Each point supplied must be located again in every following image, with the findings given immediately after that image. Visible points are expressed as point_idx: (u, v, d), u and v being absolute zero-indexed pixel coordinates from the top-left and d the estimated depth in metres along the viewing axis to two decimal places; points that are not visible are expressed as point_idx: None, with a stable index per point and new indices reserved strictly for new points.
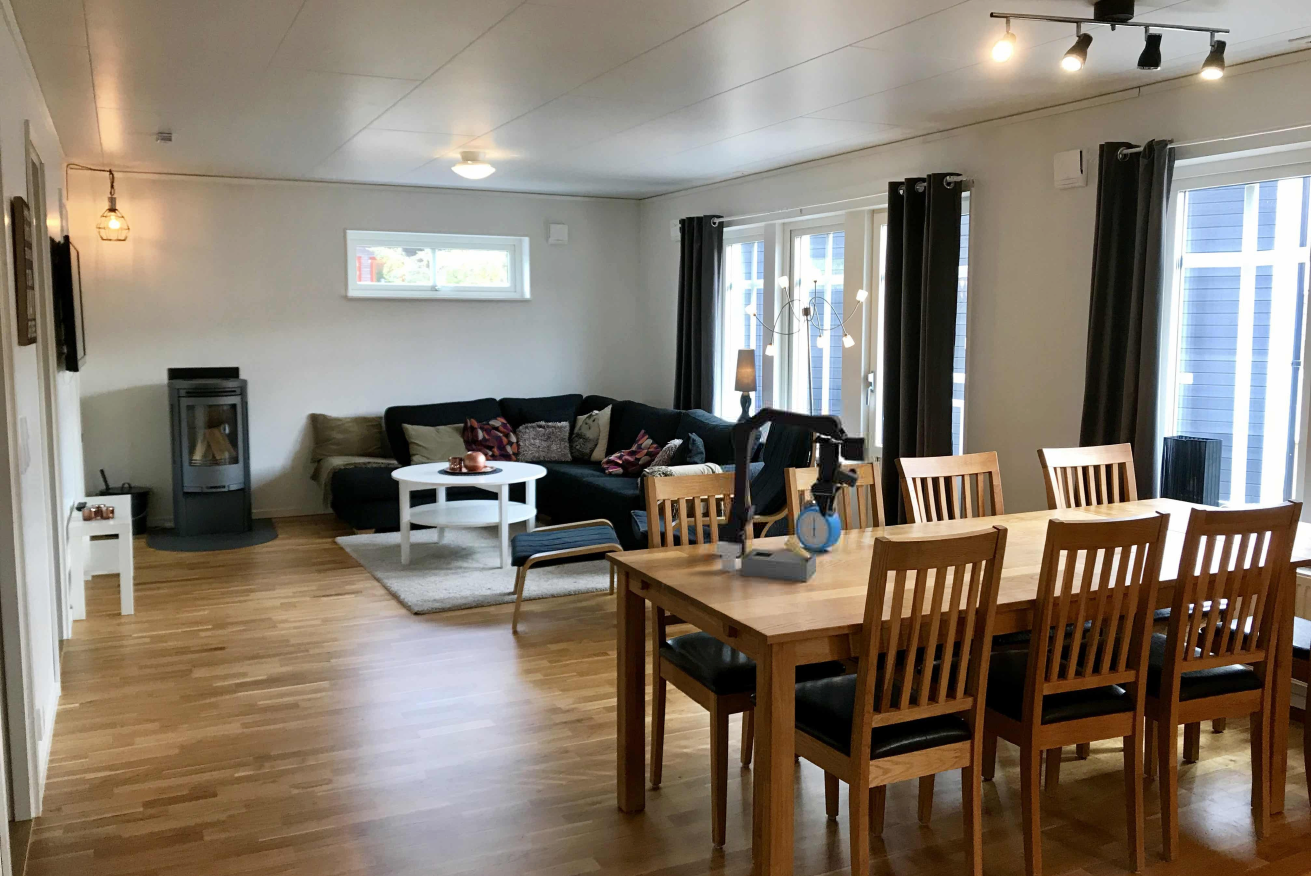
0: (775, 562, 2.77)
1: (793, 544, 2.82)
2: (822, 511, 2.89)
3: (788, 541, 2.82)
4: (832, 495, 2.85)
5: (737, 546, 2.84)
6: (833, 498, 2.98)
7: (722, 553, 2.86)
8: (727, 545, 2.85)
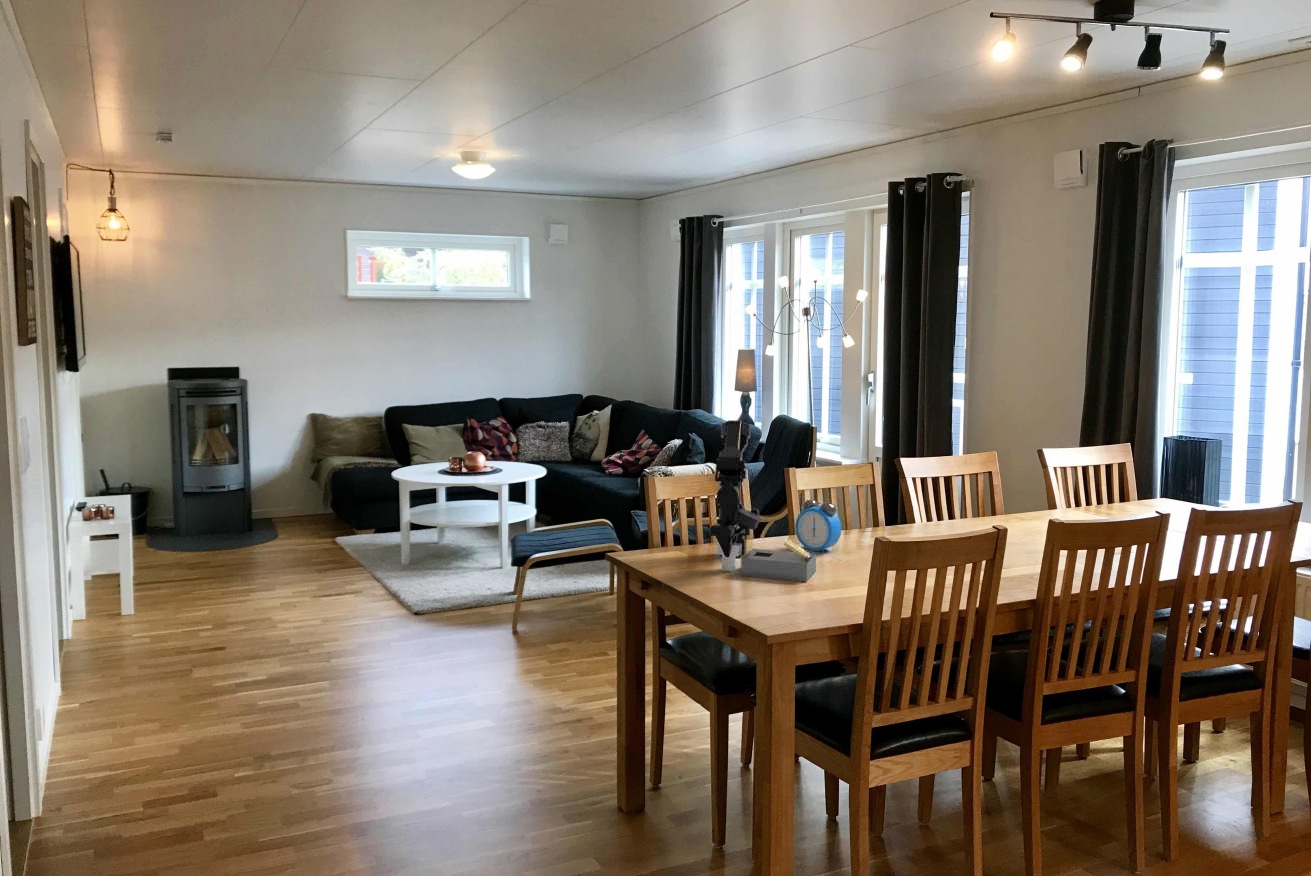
0: (775, 562, 2.77)
1: (793, 544, 2.82)
2: (725, 551, 2.85)
3: (788, 541, 2.82)
4: (734, 536, 2.81)
5: (737, 546, 2.84)
6: (733, 541, 2.88)
7: (722, 553, 2.86)
8: None
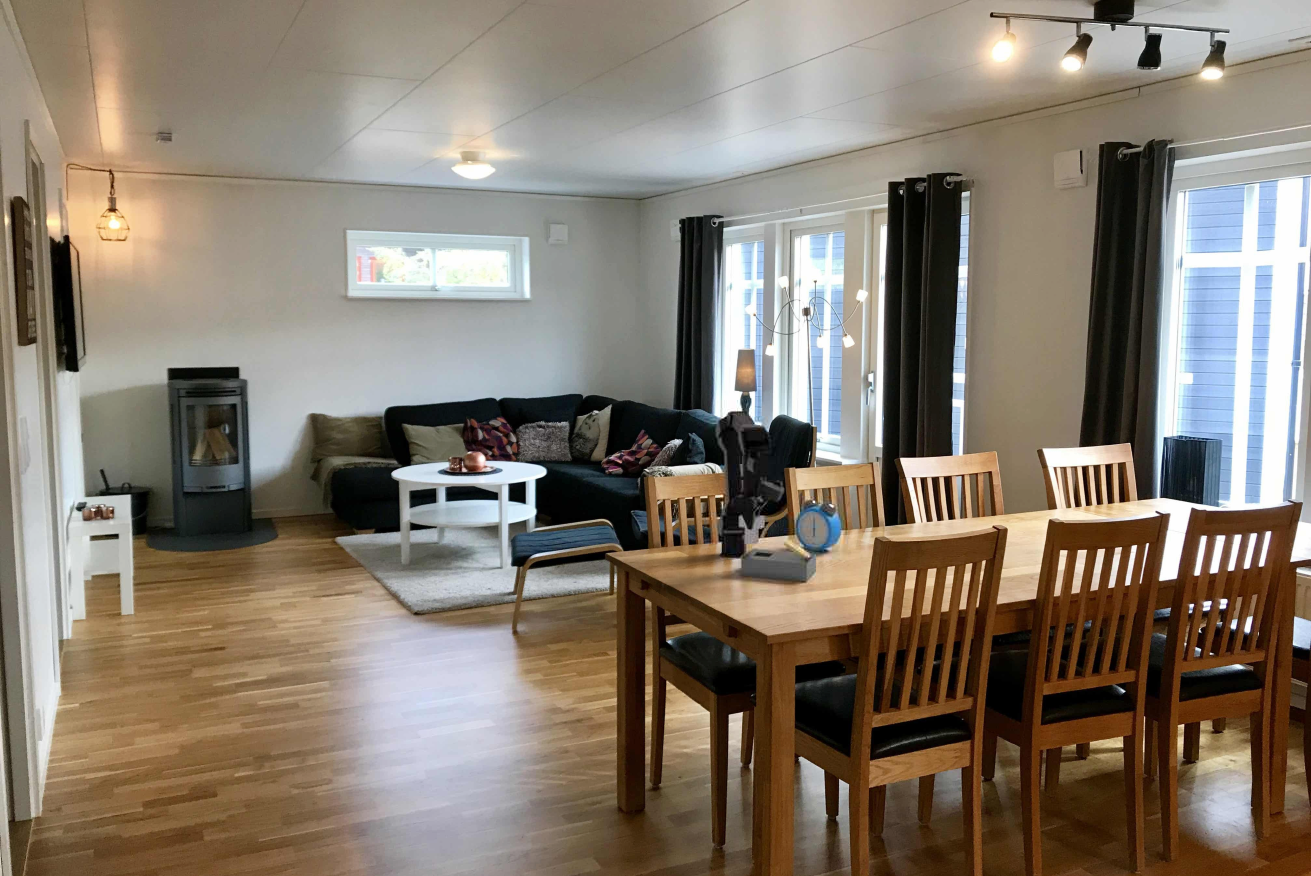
0: (775, 562, 2.77)
1: (793, 544, 2.82)
2: (748, 524, 2.82)
3: (788, 541, 2.82)
4: (756, 507, 2.78)
5: (760, 518, 2.81)
6: (756, 514, 2.85)
7: (745, 526, 2.83)
8: None
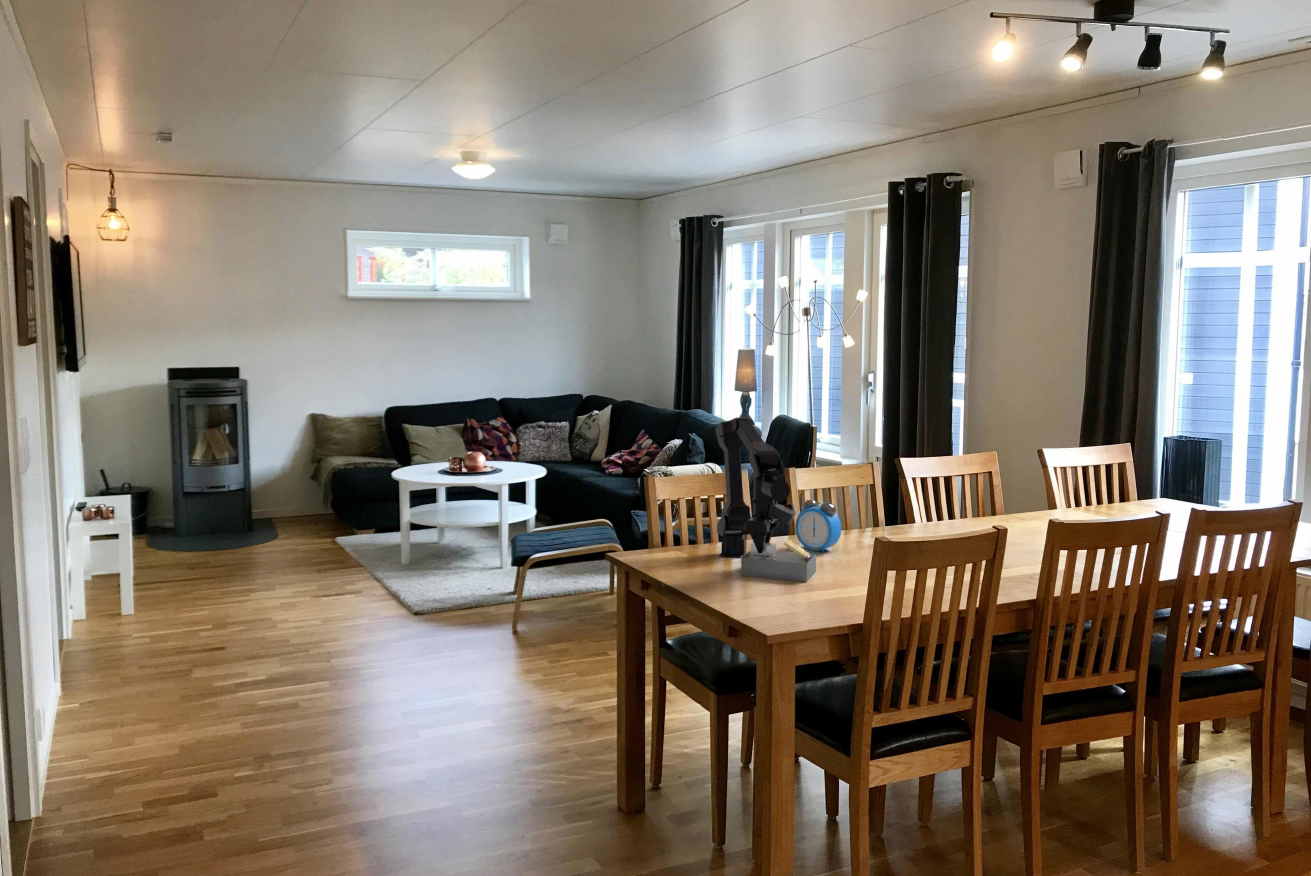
0: (775, 562, 2.77)
1: (793, 544, 2.82)
2: (758, 547, 2.81)
3: (788, 541, 2.82)
4: (768, 531, 2.77)
5: (772, 546, 2.82)
6: (769, 535, 2.86)
7: (756, 554, 2.84)
8: None
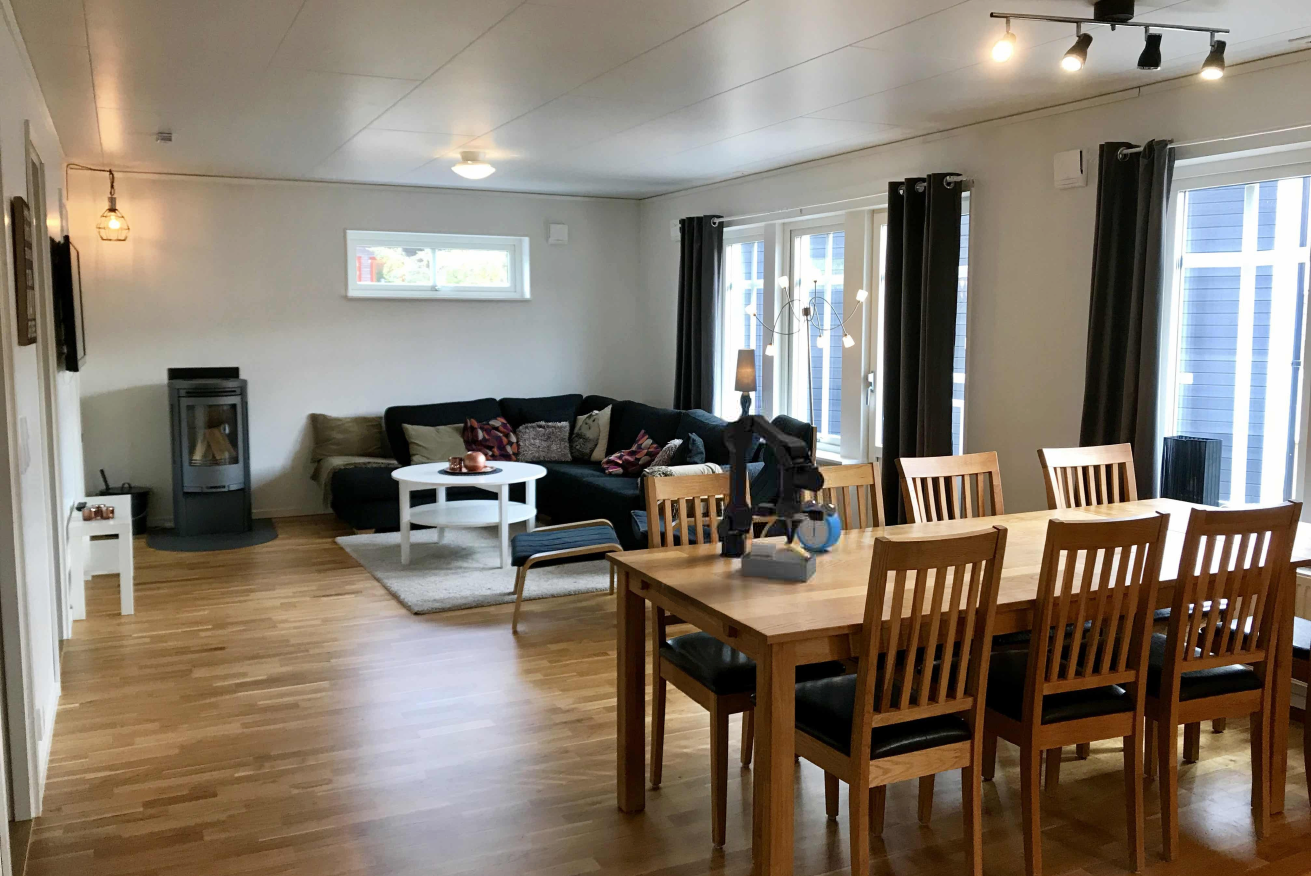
0: (775, 562, 2.77)
1: (793, 544, 2.82)
2: None
3: None
4: (776, 519, 2.79)
5: (772, 546, 2.82)
6: None
7: (756, 554, 2.84)
8: (761, 545, 2.83)
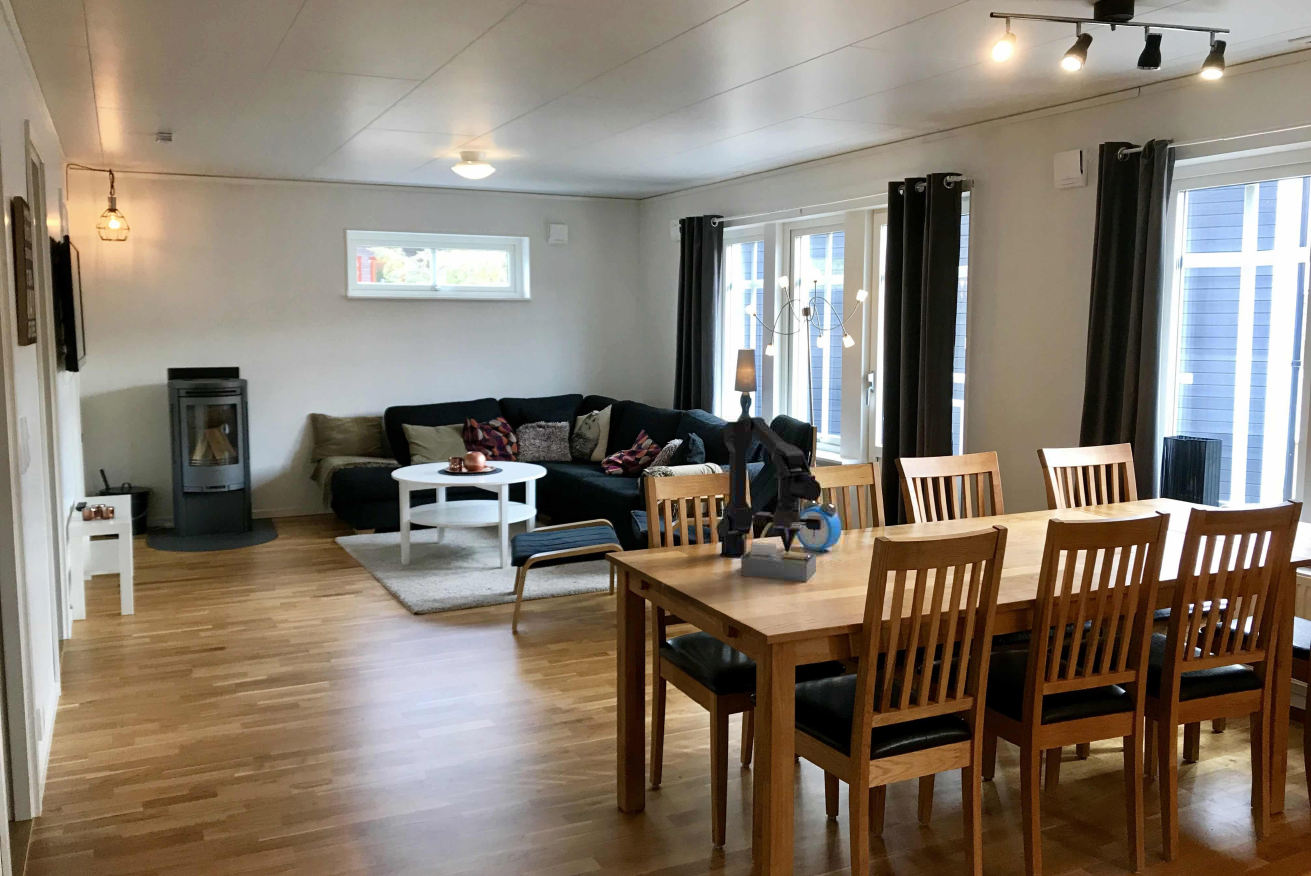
0: (775, 562, 2.77)
1: (790, 552, 2.82)
2: None
3: (784, 551, 2.83)
4: (773, 528, 2.80)
5: (772, 546, 2.82)
6: None
7: (756, 554, 2.84)
8: (761, 545, 2.83)
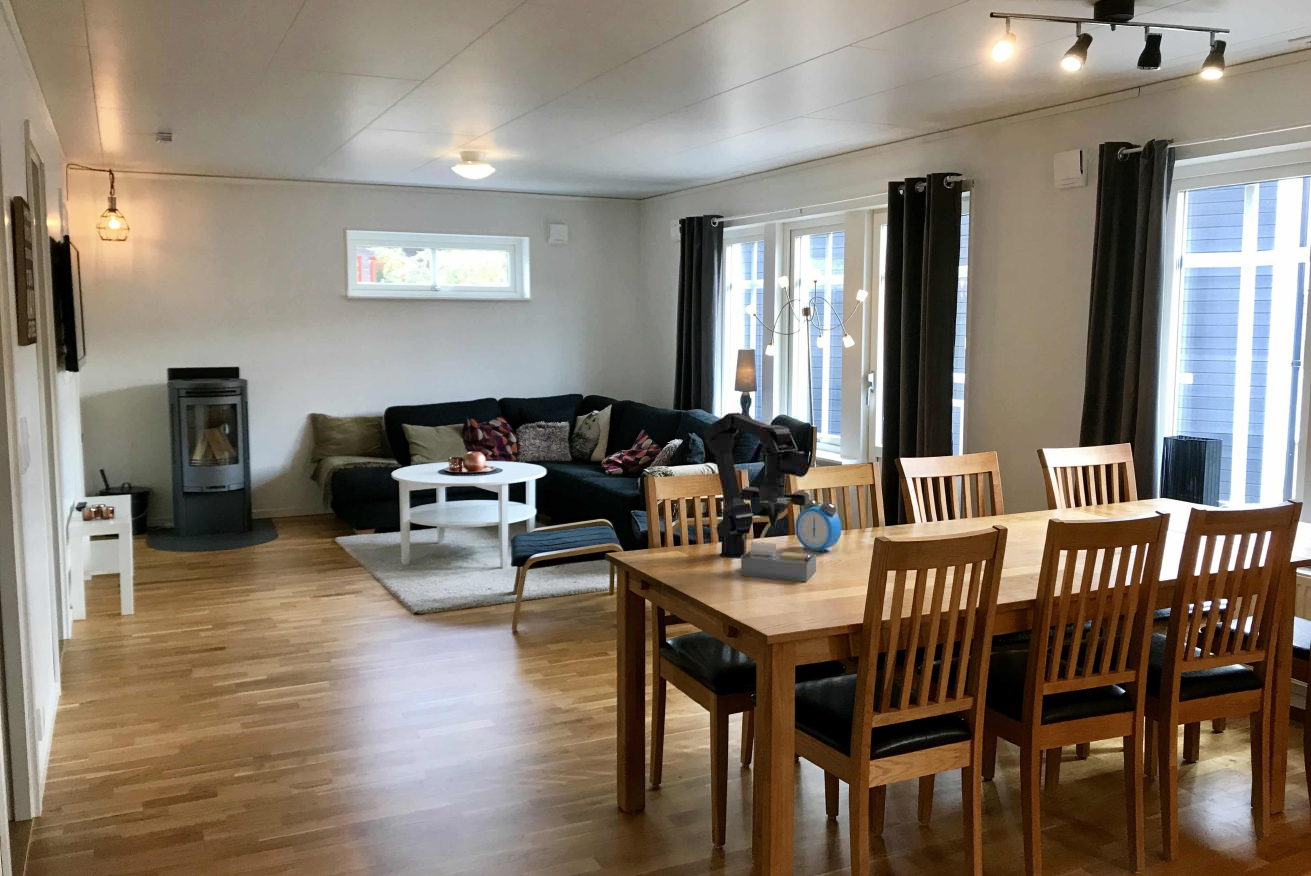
0: (775, 562, 2.77)
1: (790, 553, 2.82)
2: None
3: (784, 553, 2.83)
4: (760, 503, 2.88)
5: (772, 546, 2.82)
6: None
7: (756, 554, 2.84)
8: (761, 545, 2.83)
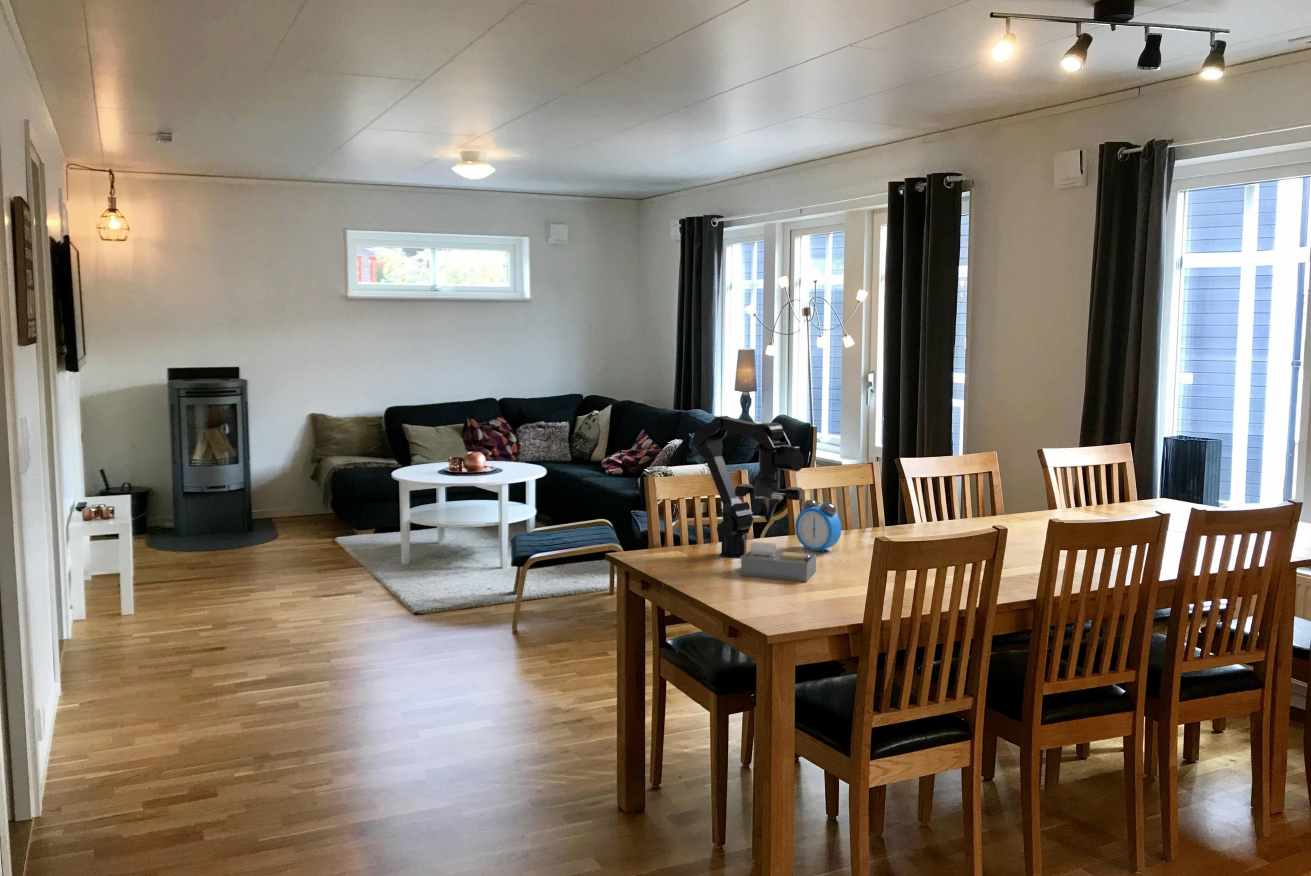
0: (775, 562, 2.77)
1: (790, 553, 2.82)
2: None
3: (784, 553, 2.83)
4: (754, 499, 2.92)
5: (772, 546, 2.82)
6: None
7: (756, 554, 2.84)
8: (761, 545, 2.83)
